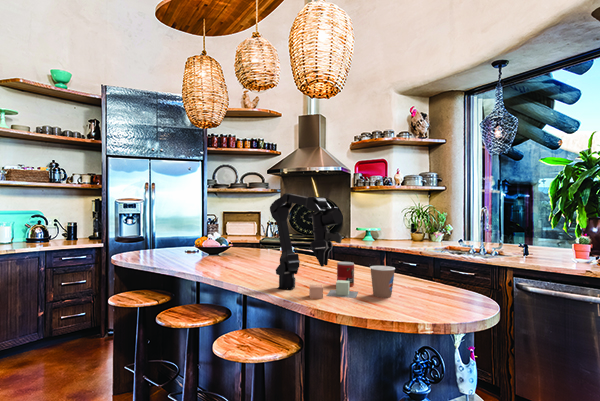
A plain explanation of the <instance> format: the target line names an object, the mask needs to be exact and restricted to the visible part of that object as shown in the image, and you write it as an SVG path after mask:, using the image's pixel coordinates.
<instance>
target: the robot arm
mask: <svg viewBox="0 0 600 401" xmlns="http://www.w3.org/2000/svg"><path fill="white" fill-rule="evenodd" d="M293 204H295V205H298V206H299V205H300V206H304V207H305V208H306V209H307V210H309V211H311V212H310V214H309V215H308V218H309V219H310V218H311V219H312V229H313V230H312V234H313V239H314V240H312V241H311V242H310V243H309V244H310V249H311V251H312V252H313V255H314V256H315V259H316V260H317V262H318V264H319V266H320V267H324V266H328V262H329V255H330V251H331V250H333V246H334V245H333V242H334V243H337V244H341V243H342V240H343V235H341V233H340V232H337V231H336V232H334V233H332V232H330V229H329V228H328V227H329V226H331V227H332V226H336V225H341V224H342V222H343V219H344V218H343V215H342V213H341V211H340V210H339V208H338V207H337V206H334V207H331V206H330V204H329V203H328V202H327V199H326V197H318V196H310V197H309V196H304V195H299V194H294V193H289V192H285V193H283V194H282V195H281V196H280V197H278V198H276V199H275V200H274V201H273V202H272V203H271V204H270V205H269V212H270V215H271V218H272V219H273V220H274V221H275V223H276V229H277V233H278V238H279V245H280V250H281V255H280V258H279V265H278V266H277V267H276V269H275V274H276V276H277V275H278V277H279V278H278V286H277V289H278V290H291V291H292V290H293V289H294V288H296V277H295V275H297V274H298V271H299V268H300V263H301V261H300V256H299V253H295V251H294V250H293V244H292V241H291V235H290V229H289V224H288V219H289V215H290V210H291V209H292V207H293Z"/></svg>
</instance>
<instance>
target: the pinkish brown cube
mask: <svg viewBox="0 0 600 401" xmlns="http://www.w3.org/2000/svg"><path fill="white" fill-rule="evenodd" d="M308 292H309V293H308V294H309V299H322V300H323V299H324V287H323V285H322V284H309V291H308Z"/></svg>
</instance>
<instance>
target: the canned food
mask: <svg viewBox="0 0 600 401" xmlns="http://www.w3.org/2000/svg"><path fill="white" fill-rule="evenodd" d="M336 267H337V268H336V282H337V281H338V280H343V281H350V287H349V288H352V287H354V286H355V263H354V262H353V261H352V262H351V261H338V262H337V263H336Z"/></svg>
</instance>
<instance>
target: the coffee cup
mask: <svg viewBox="0 0 600 401" xmlns="http://www.w3.org/2000/svg"><path fill="white" fill-rule="evenodd" d="M369 269H370V275H371V287H372V293H373V297H377V298H384V299H385V298H391V297H392V294H393V288H394V287H393V285H394V278H395V270H396V268H395V267H394V266H388V265H371V266H369Z"/></svg>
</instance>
